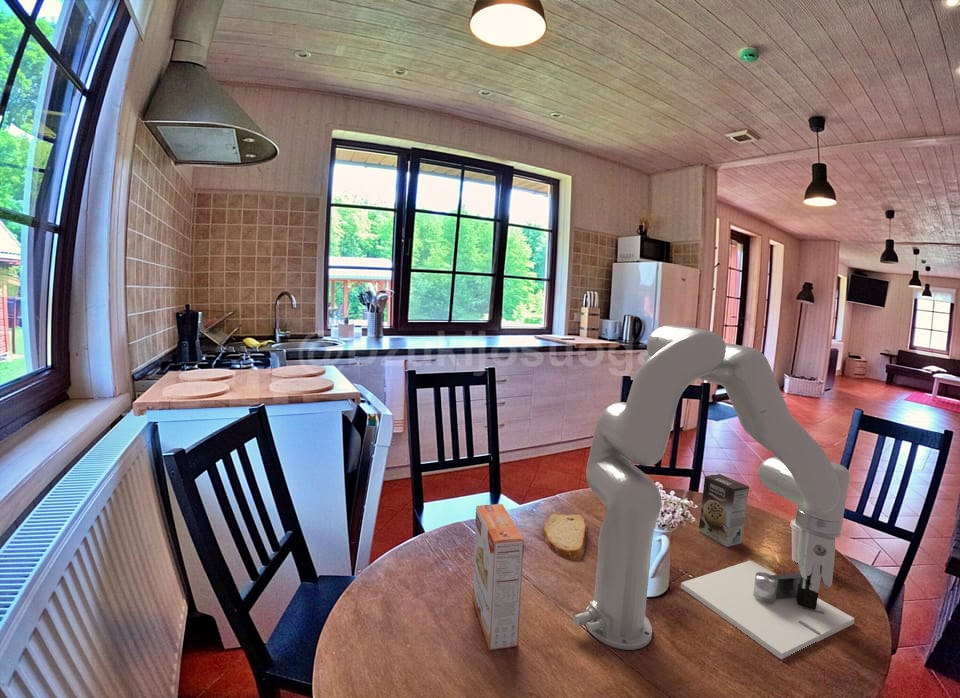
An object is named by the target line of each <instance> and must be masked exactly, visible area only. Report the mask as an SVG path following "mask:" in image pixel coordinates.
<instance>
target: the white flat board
mask: <svg viewBox="0 0 960 698" xmlns="http://www.w3.org/2000/svg"><path fill="white" fill-rule="evenodd" d="M757 572H764V573H768V574H770V575H777V574H776V573H774V572H772V571H770V570H769V569H767V568H765V567H764V566H761V565H760V564H758V563H756V562H755V561H753V560H747V561H744V562H741V563H738V564H734V565H731V566H728V567H726V568H721V569H720V570H717V571H713V572H709V573H707V574H704V575H701V576H700V575H699V576H697V577H695V578H691V579H688V580H684V581H682V582H681V583H680V589H682V590H683V591H684V592H686V593H687V594H689V595H690V596H691V597H693V598H694V599H696V600H697V601H699V602H700V603H701V604H703V605H704V606H705V607H706V608H708V609H710V611H712V612H714V613H715V614H716V615H718V616H719V617H721V618H722V619H724V620H726V622H728V623H729V624H731V625H732V626H733V625H734V627H735V628H736V627H737V628H736V629H737V630H739V631H740V630H741V632H742V633H743V634H744V635H746V636H747V635H748V636H747V637H749V638H750V639H752V640H753V641H754V640H755V641H754V642H755V643H758V645H760V646H762V647H763V648H764V649H766V650H767V651H769V652H770V653H771V654H772V655H774V656H775V657H777V658H778V659H780V660H783V659H785V658H788V657H790V656H791V654H792V655H794V654H796V653H797V651H798V652H799V650H800V651H802V650H804V649H806V648H808V647H809V645H810V646H812V645H814V644H815V642H816V643H818V642H820V641H822V640H824V639H825V638H826V639H827V638H829V637H831V636H832V635H834V634H836V633H838V632H840V631H843V630H844V629H847V628H848V627H850V626H853V625H854V623H855V619H856V618H854V617H853V616H851V615H849V614H847V613H846V612H844V611H842V610H840V609H839V608H837V607H835V606H834V605H831V604H829V603H827V602H825V601H824V600H822V599H820V598H819V597H818V599H817V605H816V609H815V610H813V609H810V608H807V607H803V606H800V605H798V604H797V600H796V598H783V599H775V603H773V604H767V603H764V602H761V601H759V600H758V599H756V598H755V597H754V595H753V592H754V584H755V576H756V573H757ZM813 643H814V644H813ZM811 644H812V645H811ZM807 646H808V647H807ZM805 647H806V648H805ZM803 648H804V649H803ZM801 649H802V650H801ZM795 652H796V653H795ZM793 653H794V654H793Z"/></svg>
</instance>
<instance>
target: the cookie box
mask: <svg viewBox="0 0 960 698" xmlns="http://www.w3.org/2000/svg"><path fill="white" fill-rule="evenodd" d="M749 490H750V486H748V485H746V484H744V483H742V482H739V481H736V480H734V479H732V478H730V477H728V476H726V475H723V474H720V473H718V474H710V475H706V476H704V481H703V489H702V499H701V505H700V515H699V522H698V523H699V525H698V532H700V533H702V534H703V535H705V536H706V537H708V538H709V539H712V540H714V542H715V541H716V542H717V543H718V544H721V545H722V546H724V547H725V548H729V547H731V546H732V547H733V546H735V545H740V544H742V543H743V542H742V541H743V533H744V528H745V527H744V526H745V520H746V519H745V518H746V514H747V513H746V511H747V506H748V505H747V504H748V500H749V499H748V498H749Z"/></svg>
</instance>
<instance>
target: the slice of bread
mask: <svg viewBox="0 0 960 698" xmlns="http://www.w3.org/2000/svg"><path fill="white" fill-rule="evenodd" d="M587 527H588V526H587V524H586V521H585V518H584V516H583V515H581V514H561V513H558V512H552V513H550V515H548V517H547V518H546V519H545V522H544V523H543V529H542V534H543V537H544V539H543V540H544V541H545V542H544V543H545V544H546V545H547V547H548V548H549V549H550V550H551V551H553V553H555V554H556V555H558V556H560V557H562V558H565V559H567V560H571V561H577V560H581V559H582V558H583V555H584V553H585V550H586V544H587V543H586V542H587V537H588V536H587V535H588V528H587Z"/></svg>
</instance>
